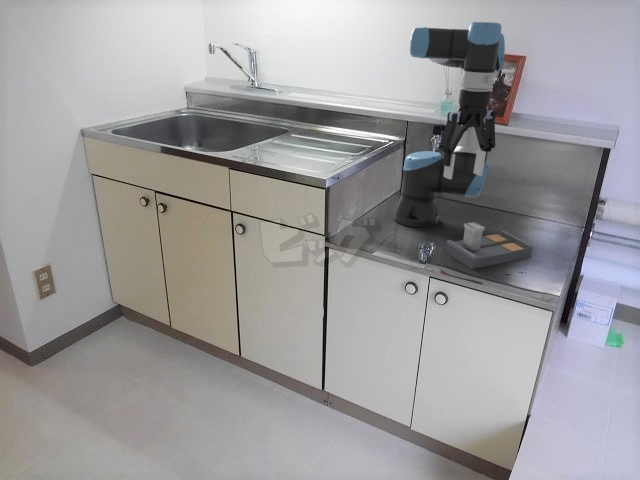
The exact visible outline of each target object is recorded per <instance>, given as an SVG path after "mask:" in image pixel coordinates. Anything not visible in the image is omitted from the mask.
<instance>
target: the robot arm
mask: <svg viewBox="0 0 640 480" xmlns="http://www.w3.org/2000/svg"><path fill="white" fill-rule="evenodd" d="M505 42H506V41H505V36H504V34H503V33H502V25H501V23H500V22H491V21H490V22H485V21H484V22H483V21H472V22H471V23H470V25H469V27H468V29H467V28H466V29H465V28H463V29H461V28H458V29H457V28H441V27H440V28H437V27H436V28H434V27H416V28H414V29H412V32H411V36H410V42H409V43H410V44H409V53H410V56H411V57H412V58H419V59H428V60H429V61H431V62H432V63H435V64H438V65H440V66H444V67H449V68H455V69H461V71H460V74H461V82H460V87H461V89H459V97H458V104H459V107H458V108H459V109H458V110H457V111H455V112H454V111H453V112H452V111H449V112H447V118H446V123H445V127H444V130H443V132H442V135H441V139H440V142H439V144H438V147H437V149H438V151H440V152H438V151H430V150H429V151H428V150H426V151H425V150H424V151H423V150H422V151H415V152H413V153H410V154H408V155H407V156H406V157H405V159H404V164H403V165H404V166H403V167H402V170H403V172H402V173H403V175H402V183H401V191H400V197H399V200H398V202H397V204H396V208H395V209H394V211H393V219H394V221H396V222H397V223H399V224H401V225H403V226H408V227H412V228H429V227H434V226H436V225H437V224H438V222H439V211H438V207H437V201H436V198H437V194H440V195H450V196H457V197H464V198H477V197H479V196H480V195H481V193H482V190H483V187H484V183H485V180H486V176H487V173H488V170H489V167H490V163H488V162H487V159H488V153H490V152H491V151H492V149H495V148H496V125H495V124H496V122H495V120H496V116H497V111H495V110H491V109H489V106H490V103H491V96H492V91H491V89H492V88H493V84H494V80H495V78H496V77H497V76H498V73H499V71H503V69H504V64H505V54H506V53H505V51H506V47H505V45H506V44H505ZM441 152H442V153H443V156H442V154H441Z"/></svg>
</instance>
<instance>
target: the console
mask: <svg viewBox="0 0 640 480" xmlns="http://www.w3.org/2000/svg"><path fill="white" fill-rule="evenodd" d="M462 244H463V239H462V240H455V241H453V240H451V239H448V240H446V246H445V253H447V254H448V255H449V256H451V258H453V259H455V260H457V261H458V262H460V263H462V264H463V265H465V266H466V267H468V268H469V269H471V270H476V269H479V268H484V267H489V266H495V265H499V264H504V263H505V264H506V263H508V262H514V261H519V260H523V259H529V258H532V253H533V248H534V245H533V244H531V243H529V242H528V241H525V240H524V239H521V238H519V237H518V236H515V235H514V234H512V233H510V232H507V231H506V230H501V231H500V233H497V234H489V235H484V236H482V238H481V244H480V249H479V250H473V251H471V250H469V249H467V248H466V247H464V246H462Z"/></svg>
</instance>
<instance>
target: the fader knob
mask: <svg viewBox="0 0 640 480" xmlns="http://www.w3.org/2000/svg"><path fill="white" fill-rule="evenodd" d="M463 227H464V232H463V233H464V234H463V238H462V240H463V244H462V246H464V247H466V248H467V249H469V250H471V251H473V250H479V249H480V244H481V238H482V237H483V232H484V231H485V229H486V227H485V226H483V225H481V224H478V223H477V222H475V221H472V222H465V223H463Z"/></svg>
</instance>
